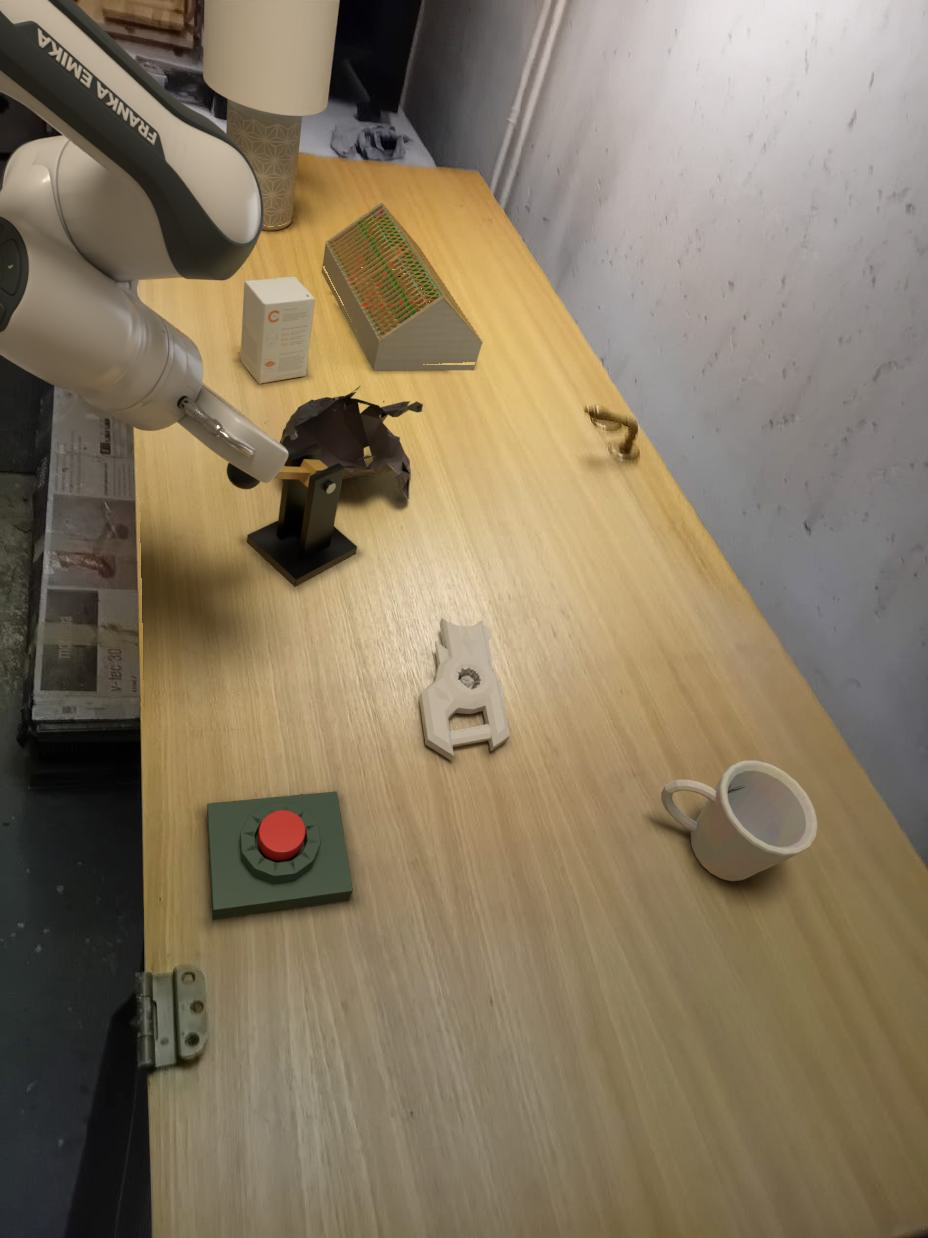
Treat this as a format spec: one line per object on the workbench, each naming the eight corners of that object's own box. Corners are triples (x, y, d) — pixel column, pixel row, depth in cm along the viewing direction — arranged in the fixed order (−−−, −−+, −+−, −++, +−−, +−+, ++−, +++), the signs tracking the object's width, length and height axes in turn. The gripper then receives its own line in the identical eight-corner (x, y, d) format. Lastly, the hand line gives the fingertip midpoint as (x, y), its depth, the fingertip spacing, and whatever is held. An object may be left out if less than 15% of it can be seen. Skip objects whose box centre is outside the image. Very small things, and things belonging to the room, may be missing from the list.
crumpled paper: (393, 440, 119) (254, 447, 112) (412, 359, 108) (257, 360, 100) (419, 513, 112) (272, 524, 105) (441, 434, 101) (278, 441, 94)
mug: (766, 910, 85) (821, 870, 78) (633, 858, 85) (675, 813, 78) (767, 824, 92) (816, 780, 85) (644, 777, 92) (683, 729, 85)
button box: (212, 920, 71) (213, 902, 68) (206, 814, 76) (207, 793, 74) (349, 900, 75) (356, 882, 72) (334, 801, 81) (339, 781, 78)
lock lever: (236, 496, 82) (250, 466, 81) (214, 475, 83) (227, 445, 82) (325, 495, 94) (338, 469, 93) (304, 477, 96) (317, 451, 94)
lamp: (316, 250, 152) (350, -21, 121) (200, 231, 145) (204, -59, 115) (309, 199, 164) (338, -57, 134) (201, 180, 158) (206, -94, 128)
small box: (286, 353, 128) (295, 274, 118) (306, 376, 125) (316, 298, 116) (238, 360, 124) (243, 279, 114) (257, 385, 121) (264, 303, 111)
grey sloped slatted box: (477, 370, 139) (499, 298, 129) (373, 370, 131) (388, 294, 121) (417, 276, 155) (433, 206, 146) (321, 271, 147) (331, 197, 137)
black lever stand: (295, 586, 97) (308, 500, 87) (246, 541, 100) (253, 452, 90) (356, 553, 104) (374, 469, 94) (308, 511, 106) (322, 425, 96)
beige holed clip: (413, 610, 95) (494, 614, 98) (406, 627, 97) (485, 631, 100) (433, 750, 84) (523, 750, 87) (425, 766, 87) (512, 765, 90)
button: (259, 863, 71) (261, 855, 70) (255, 821, 73) (257, 812, 72) (305, 858, 72) (308, 849, 71) (300, 816, 75) (302, 807, 74)
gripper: (252, 406, 63) (331, 462, 76) (92, 281, 69) (191, 352, 82) (205, 472, 64) (291, 516, 77) (50, 342, 70) (155, 403, 83)
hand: (238, 430), depth 80 cm, fingers closed
